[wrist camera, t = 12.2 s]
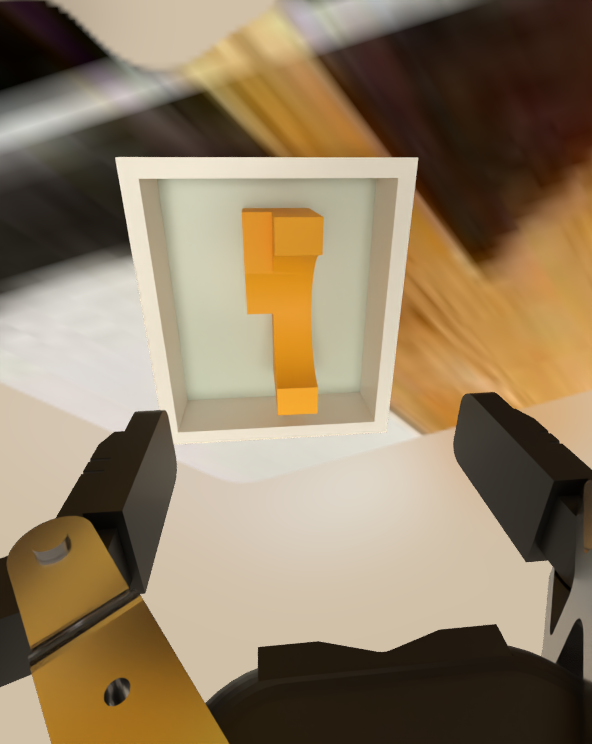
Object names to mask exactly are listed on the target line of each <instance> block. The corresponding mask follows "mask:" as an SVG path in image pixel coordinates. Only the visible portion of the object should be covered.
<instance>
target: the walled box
mask: <svg viewBox="0 0 592 744" xmlns="http://www.w3.org/2000/svg"><path fill="white" fill-rule="evenodd" d="M115 159H116V165H117V171H118V176H119V182H120V188H121V193H122V199H123V205H124V211H125V216H126V222H127V228H128V233H129V239H130V245H131V251H132V256H133V262H134V268H135V273H136V279H137V285H138V290H139V296H140V302H141V308H142V313H143V319H144V325H145V330H146V336H147V342H148V347H149V353H150V359H151V365H152V370H153V376H154V382H155V387H156V393H157V399H158V404H159V410H165V411H166V412H167V414H168V417H169V422H170V428H171V433H172V439H173V444H174V445H175V444H193V443H211V442H228V441H246V440H263V439H281V438H298V437H316V436H334V435H351V434H369V433H386V432H387V424H388V416H389V407H390V398H391V390H392V381H393V372H394V364H395V355H396V346H397V338H398V329H399V320H400V312H401V303H402V294H403V286H404V277H405V268H406V260H407V251H408V242H409V234H410V225H411V216H412V208H413V199H414V190H415V182H416V173H417V164H418V158H375V157H115ZM243 208H310V209H311V210H313V211H315V212H316V213H318V214H319V215H321V216H323V217H324V226H323V255H319V256H318V257H317V260H316V264H315V268H314V275H313V284H312V302H311V330H312V349H313V360H314V368H315V375H316V380H317V384H318V411H317V414H297V415H278V413H277V403H276V393H275V383H274V373H273V332H272V314H247V301H246V284H245V269H244V250H243V230H242V209H243Z"/></svg>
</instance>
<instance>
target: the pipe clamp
mask: <svg viewBox="0 0 592 744" xmlns="http://www.w3.org/2000/svg"><path fill="white" fill-rule="evenodd" d="M323 226H324V217H323V216H321V215H319V214H318V213H316V212H315V211H313V210H311V209H310V208H243V209H242V230H243V250H244V269H245V284H246V301H247V314H272V332H273V373H274V383H275V393H276V403H277V413H278V415H297V414H317V411H318V384H317V380H316V375H315V368H314V360H313V349H312V330H311V302H312V284H313V275H314V268H315V264H316V260H317V257H318V256H319V255H323Z"/></svg>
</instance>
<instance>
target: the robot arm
mask: <svg viewBox="0 0 592 744" xmlns="http://www.w3.org/2000/svg"><path fill="white" fill-rule="evenodd" d="M453 445H454V454H455V457H456V460H457V462H458V464H459V465H460V467H461V468H462V470H463V471H464V472H465V474H466V475H467V477H468V478H469V480H470V481H471V483H472V484H473V486H474V487H475V489H476V490H477V491H478V493H479V494H480V496H481V497H482V499H483V500H484V502H485V503H486V505H487V506H488V507H489V509H490V510H491V512H492V513H493V515H494V516H495V517H496V519H497V520H498V522H499V523H500V525H501V526H502V528H503V529H504V531H505V532H506V534H507V535H508V536H509V538H510V539H511V541H512V542H513V544H514V545H515V547H516V548H517V550H518V551H519V552H520V554H521V555H522V557H523V558H524V560H525V561H526V562H534V561H546V560H548V561H549V562H550V563H551V565H552V566H553V568H552V571H551V573H550V576H549V584H548V595H547V606H546V618H545V630H544V640H543V650H542V655H541V656H539V655H536V654H534V653H531V652H529V651H526V650H522V649H519V648H515V647H512V646H507V644H506V642H505V640H504V638H503V636H502V634H501V632H500V631H499V628H498V627H497V625H496V624H494V625H483V626H473V627H463V628H452V629H442V630H438V631H435V632H433V633H430V634H428V635H426V636H423V637H421V638H419V639H416V640H414V641H412V642H409V643H407V644H404V645H402V646H400V647H397V648H395V649H393V650H390V651H387V652H376V651H370V650H364V649H359V648H353V647H347V646H341V645H336V644H330V643H324V642H319V641H318V642H307V643H297V644H286V645H276V646H265V647H258V668H257V669H255V670H252V671H250V672H248V673H245V674H244V675H242V676H240V677H238V678H237V679H235V680H233V681H231V682H230V683H229V684H228V685H226V686H225V687H223V688H222V689H220V690H219V691H218V692H217V693H216V694H215V695H213V696H212V697H211V698H210V699H209V700H208V701H207V702H206V703H205V702H204V701H203V699H202V697H201V696H200V694H199V692H198V691H197V689H196V687H195V685H194V684H193V682H192V680H191V679H190V677H189V675H188V674H187V672H186V670H185V669H184V667H183V665H182V664H181V662H180V660H179V659H178V657H177V656H176V654H175V652H174V650H173V649H172V647H171V645H170V644H169V642H168V640H167V638H166V637H165V635H164V634H163V632H162V630H161V628H160V627H159V625H158V624H157V622H156V620H155V618H154V617H153V615H152V613H151V612H150V610H149V608H148V607H147V605H146V603H145V602H144V600H143V598H142V597H141V595H140V594H144V593H145V592H146V589H147V585H148V581H149V578H150V574H151V570H152V566H153V563H154V559H155V555H156V552H157V547H158V544H159V540H160V537H161V533H162V529H163V526H164V522H165V518H166V514H167V511H168V507H169V503H170V499H171V496H172V492H173V488H174V484H175V480H176V472H177V463H176V455H175V450H174V444H173V439H172V433H171V428H170V422H169V417H168V414H167V412H166V411H165V410H156V411H138V412H135V413H134V414H133V416H132V418H131V420H130V422H129V424H128V426H127V428H126V430H125V431H121V432H114V433H112V434H111V435H110V436H109V437H108V438H107V439H105V440H104V441H103V442H101V443H100V444H99V445H98V447H97V449H96V450H95V452H94V454H93V455H92V457H91V459H90V462H88V464H87V466H86V467H85V469H84V471H83V474H81V476H80V477H79V479H78V481H77V483H76V484H75V486H74V488H73V489H72V491H71V493H70V495H69V496H68V498H67V500H66V501H65V503H64V505H63V506H62V508H61V510H60V512H59V513H58V515H57V517H56V518H55V519H52V520H49V521H47V522H44V523H42V524H40V525H38V526H36V527H34V528H33V529H31V530H30V531H28V532H27V533H26V534H25V535H23V536H22V537H21V538H20V539H19V540H18V541H17V542H16V544H15V545H14V546H13V547H12V549H11V550H10V552H9V555H8V556H6V557H4V558H0V687H1V686H4V685H7V684H9V683H11V682H14V681H16V680H19V679H21V678H24V677H26V676H29V675H31V674H32V677H33V680H34V684H35V687H36V691H37V694H38V698H39V701H40V705H41V709H42V712H43V716H44V719H45V723H46V726H47V730H48V733H49V737H50V741H51V744H592V470H591V469H590V468H589V467H588V466H587V465H586V464H585V463H584V462H582V461H581V460H580V459H579V458H578V457H577V456H576V455H575V454H573V453H572V452H571V451H570V450H569V449H568V448H566V447H565V446H564V445H563V444H560V443H559V440H558V439H557V438H556V437H554V436H553V435H552V434H551V433H550V434H549V433H548V431H547V429H545V428H544V427H543V426H542V425H541V424H540V423H539V422H538V421H536V420H535V419H534V418H532V417H530V416H528V415H526V414H524V413H522V412H521V411H519V410H517V409H513V408H512V407H511V406H510V405H509V404H508V403H507V402H506V401H504V400H503V399H502V398H501V397H500V396H499V395H498V394H497V393H495V392H488V393H470V394H465V395H464V396H463V398H462V400H461V404H460V410H459V415H458V420H457V425H456V431H455V436H454V443H453Z"/></svg>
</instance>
